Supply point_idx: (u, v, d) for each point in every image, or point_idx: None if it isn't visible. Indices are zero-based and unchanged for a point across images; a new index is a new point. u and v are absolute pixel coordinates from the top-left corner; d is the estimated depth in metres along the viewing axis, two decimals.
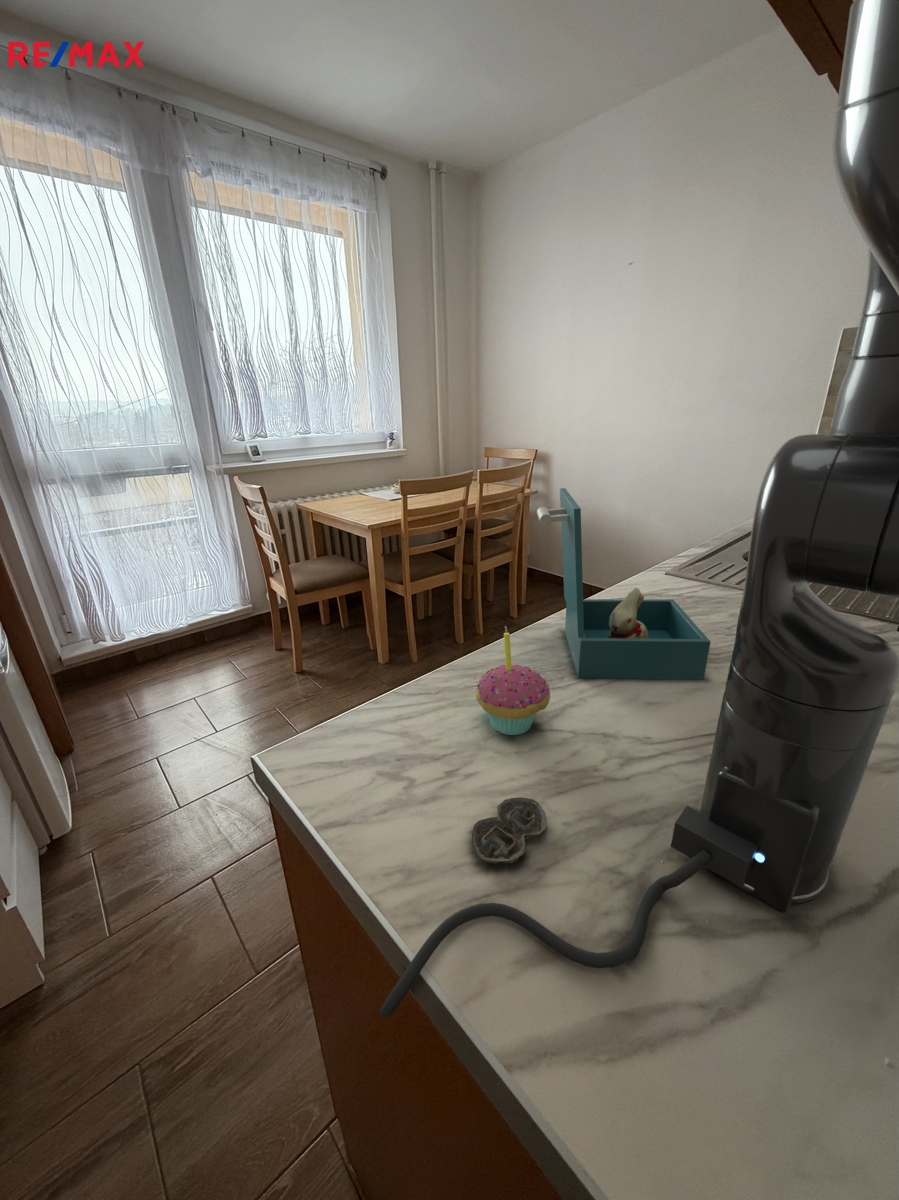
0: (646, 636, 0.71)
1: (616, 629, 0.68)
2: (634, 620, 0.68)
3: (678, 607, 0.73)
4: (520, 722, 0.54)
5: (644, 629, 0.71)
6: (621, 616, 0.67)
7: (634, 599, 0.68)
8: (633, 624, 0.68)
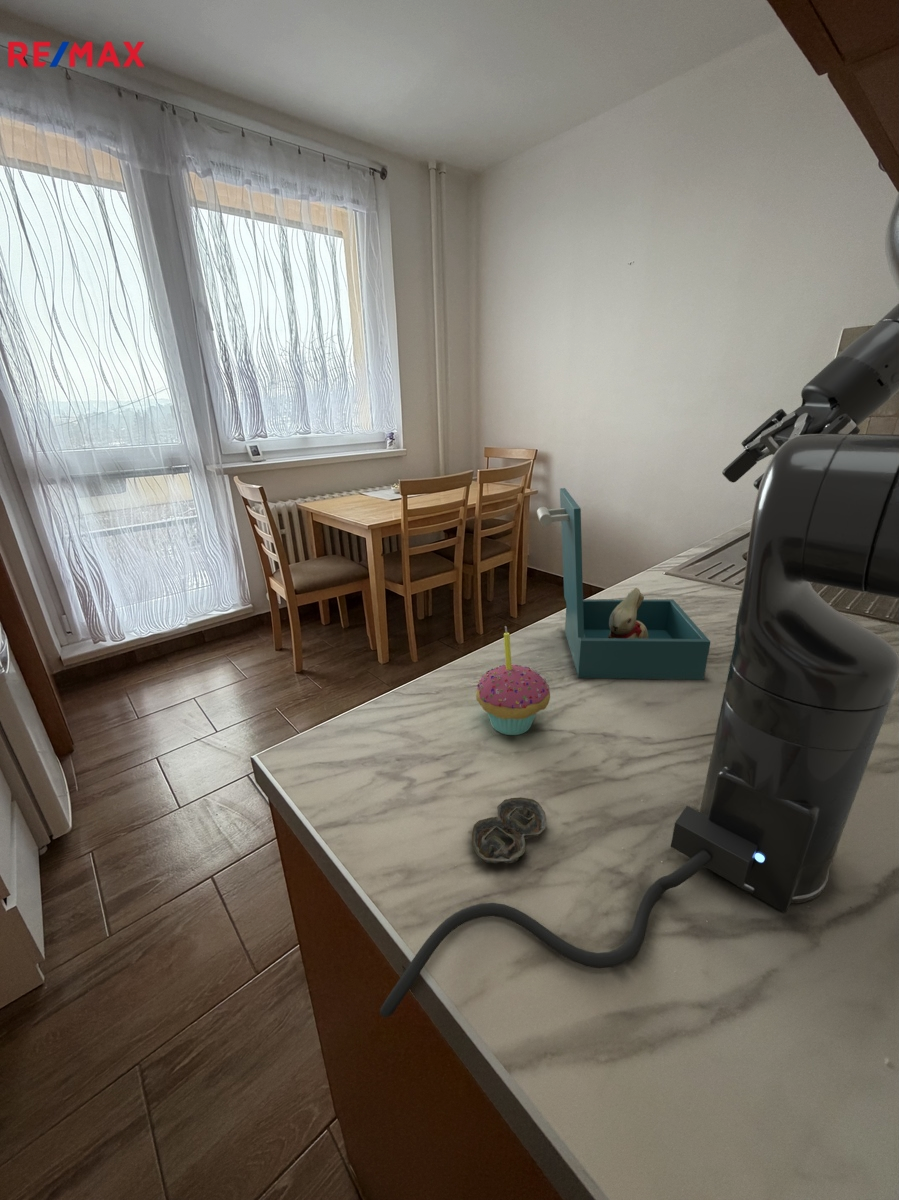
0: (646, 636, 0.71)
1: (616, 629, 0.68)
2: (634, 620, 0.68)
3: (678, 607, 0.73)
4: (520, 722, 0.54)
5: (644, 629, 0.70)
6: (621, 616, 0.67)
7: (633, 599, 0.68)
8: (633, 624, 0.68)
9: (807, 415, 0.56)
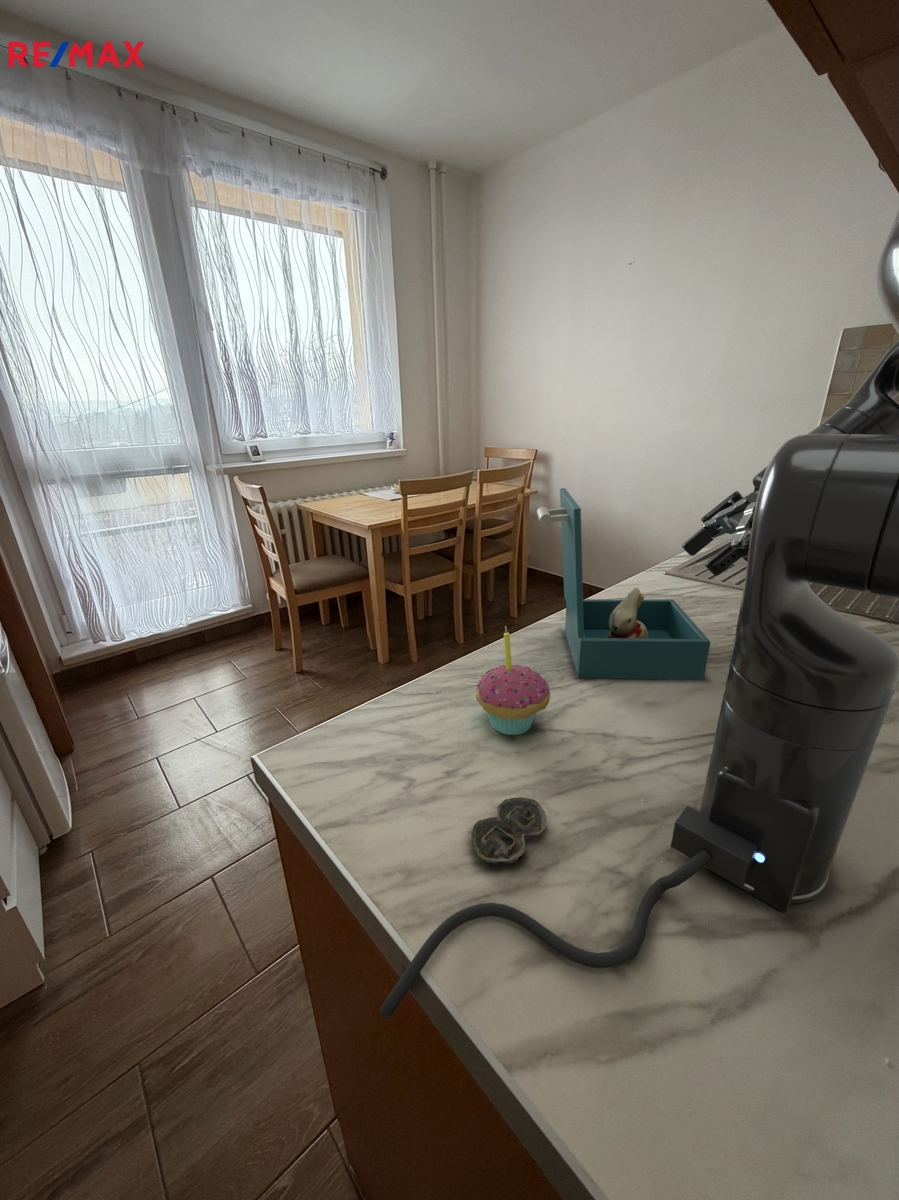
0: (646, 636, 0.71)
1: (616, 629, 0.68)
2: (634, 620, 0.68)
3: (678, 607, 0.73)
4: (520, 722, 0.54)
5: (644, 629, 0.70)
6: (621, 616, 0.67)
7: (633, 599, 0.68)
8: (633, 624, 0.68)
9: (755, 505, 0.61)
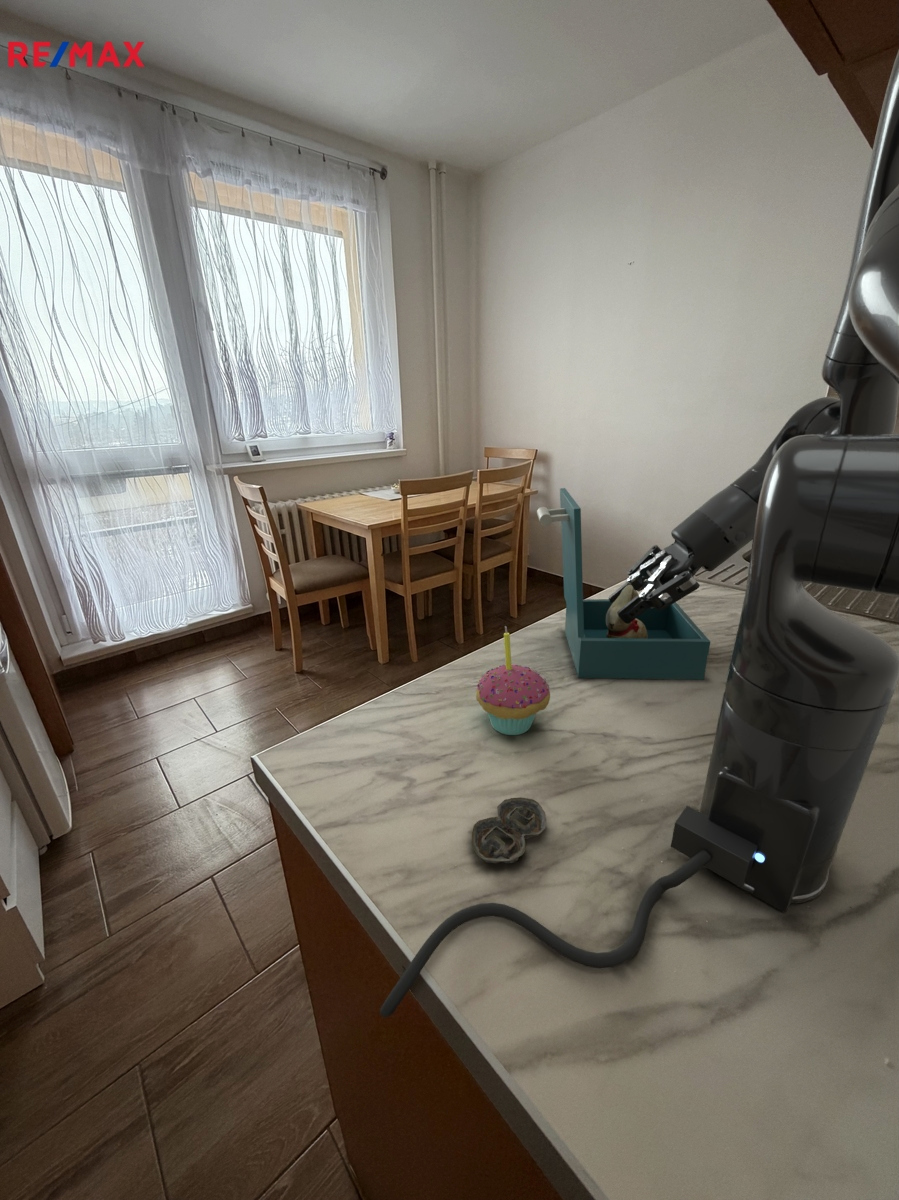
0: (645, 633, 0.71)
1: (613, 626, 0.68)
2: None
3: (678, 607, 0.73)
4: (520, 722, 0.54)
5: (641, 626, 0.71)
6: (616, 612, 0.68)
7: (627, 595, 0.68)
8: None
9: (670, 559, 0.64)
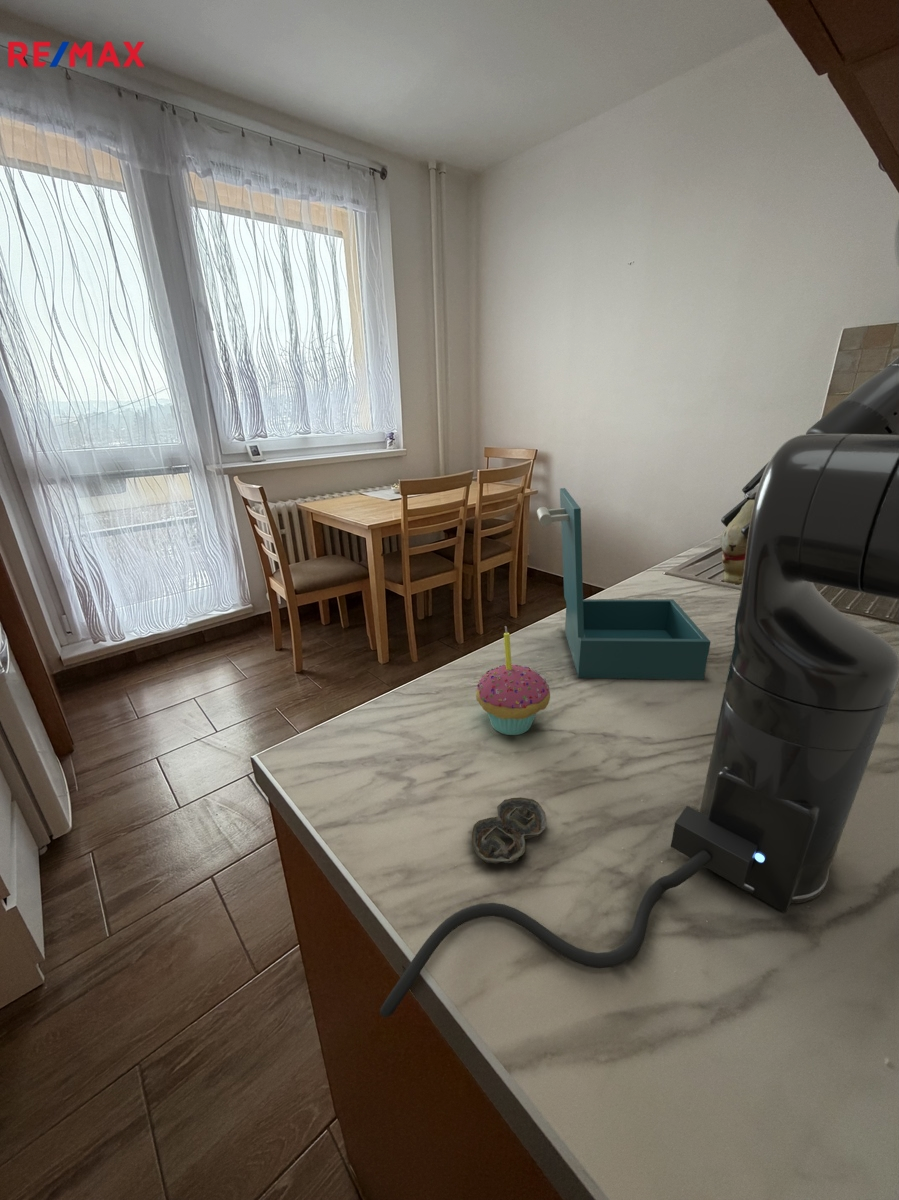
0: None
1: (734, 548, 0.57)
2: None
3: (678, 607, 0.73)
4: (520, 722, 0.54)
5: None
6: (738, 531, 0.57)
7: (750, 511, 0.58)
8: None
9: None
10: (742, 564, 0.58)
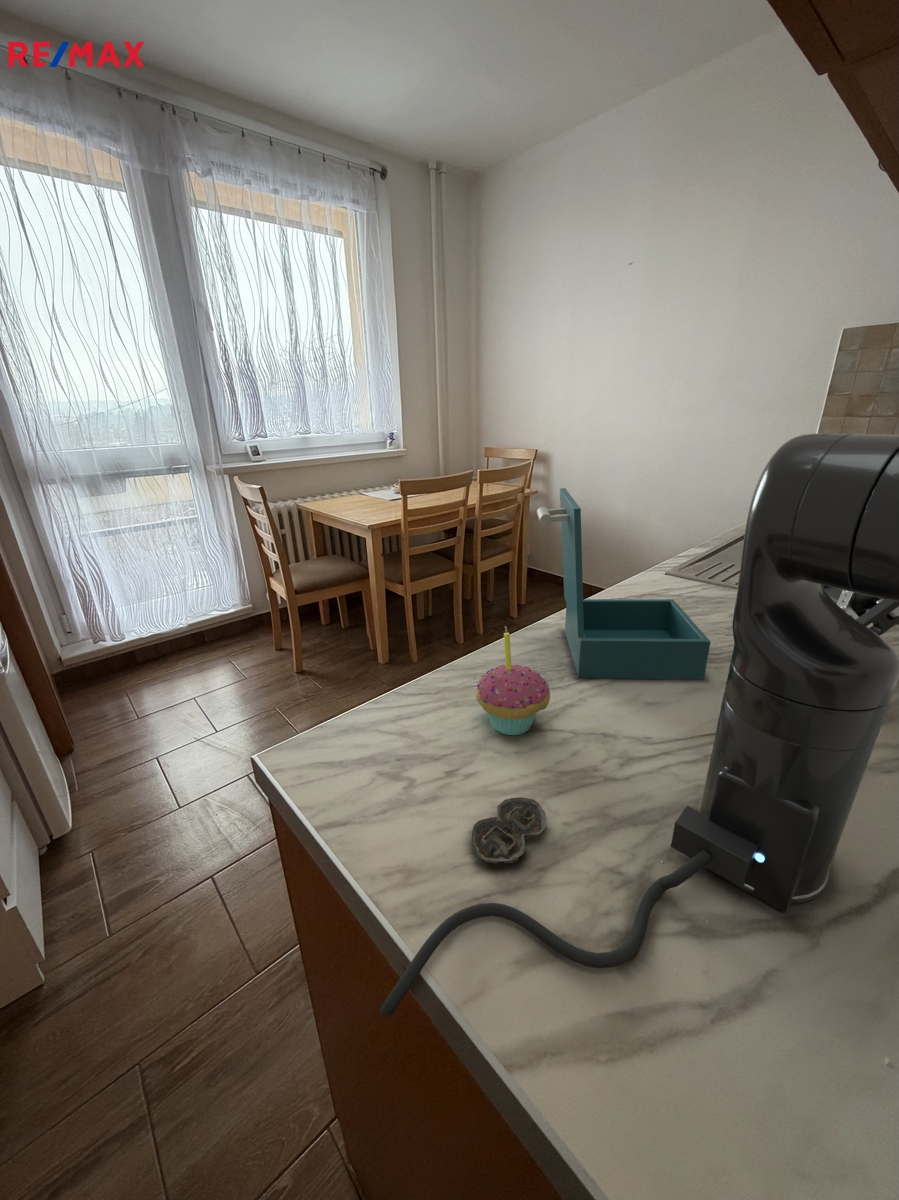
0: None
1: None
2: None
3: (678, 607, 0.73)
4: (520, 722, 0.54)
5: None
6: None
7: None
8: None
9: None
10: None
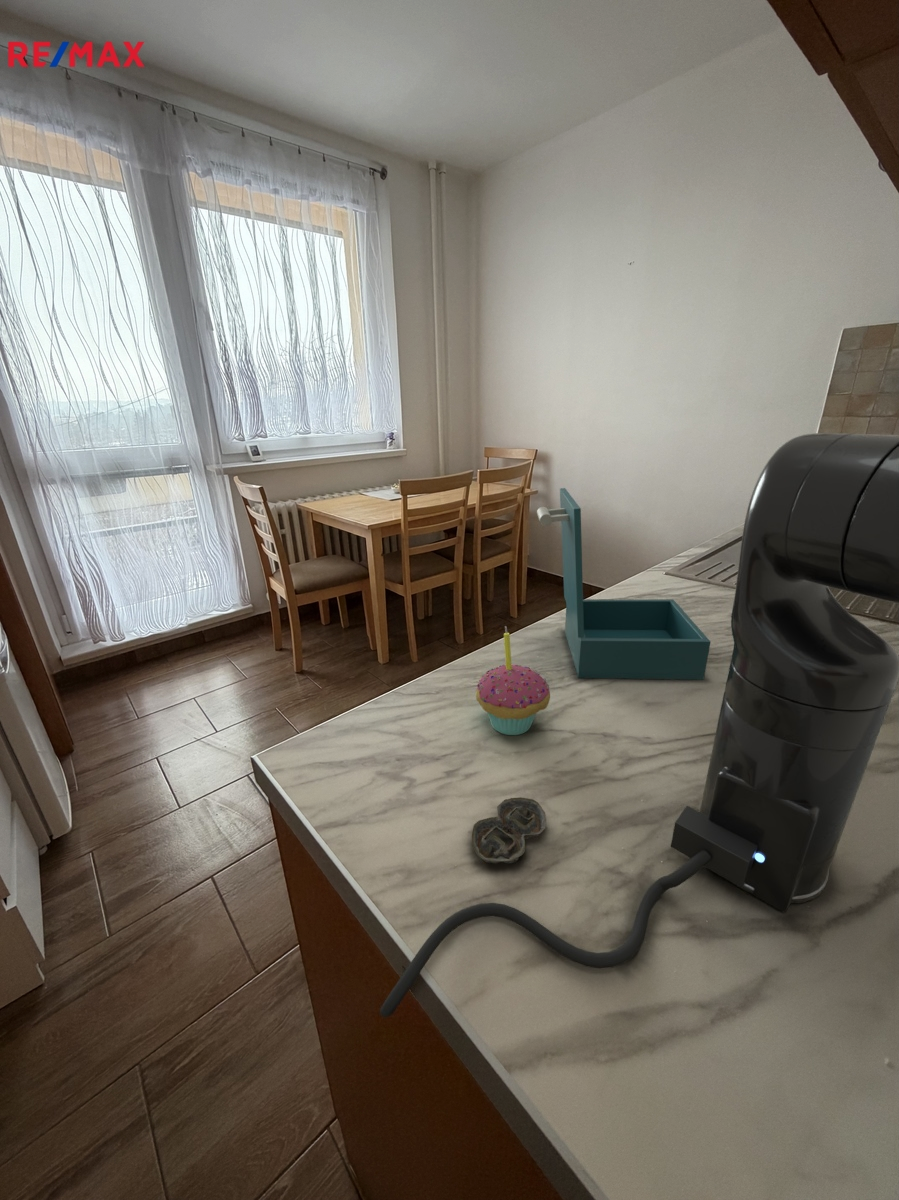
0: None
1: None
2: None
3: (678, 607, 0.73)
4: (520, 722, 0.54)
5: None
6: None
7: None
8: None
9: None
10: None
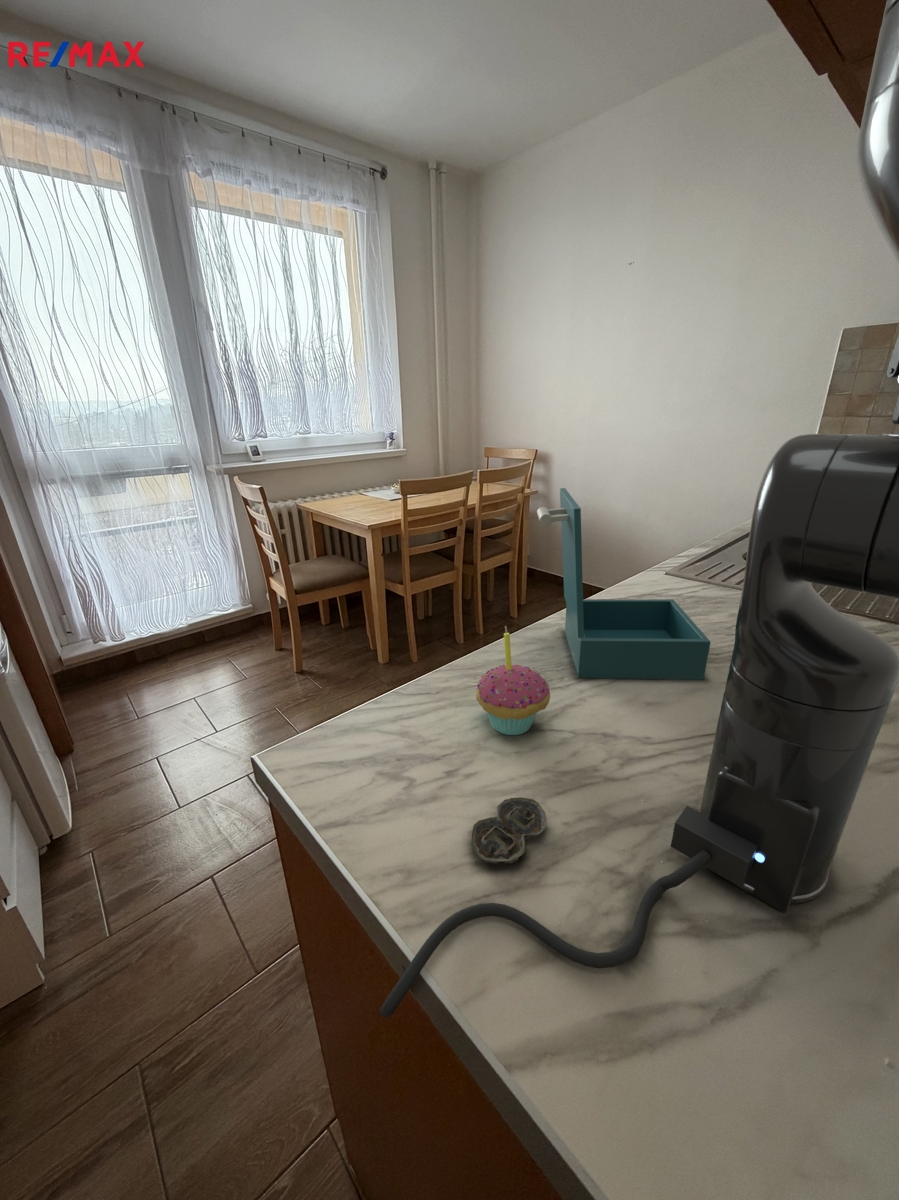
0: None
1: None
2: None
3: (678, 607, 0.73)
4: (520, 722, 0.54)
5: None
6: None
7: None
8: None
9: None
10: None
